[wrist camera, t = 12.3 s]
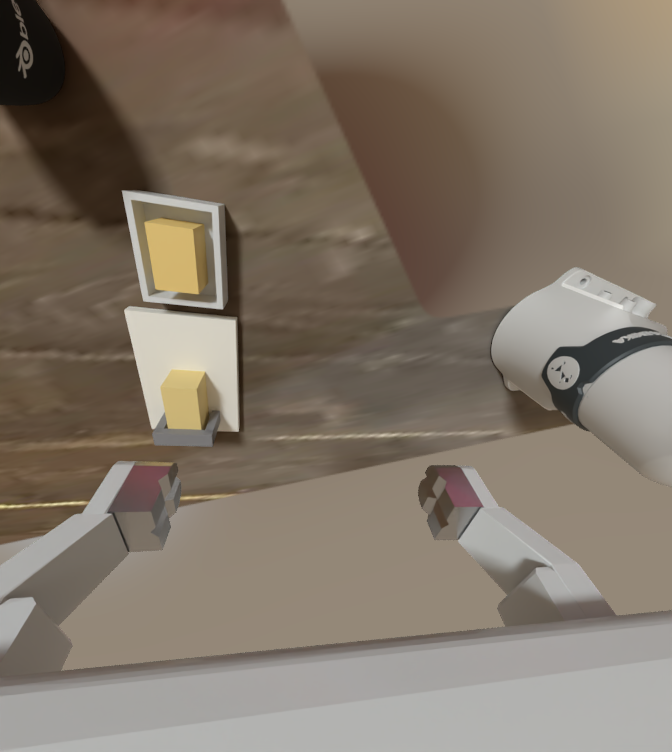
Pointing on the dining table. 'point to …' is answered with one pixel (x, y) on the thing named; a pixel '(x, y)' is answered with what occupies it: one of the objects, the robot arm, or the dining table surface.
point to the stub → (177, 255)
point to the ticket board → (187, 354)
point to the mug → (28, 55)
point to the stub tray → (185, 209)
